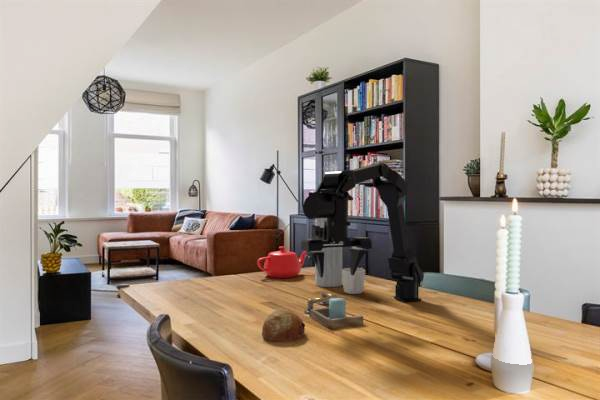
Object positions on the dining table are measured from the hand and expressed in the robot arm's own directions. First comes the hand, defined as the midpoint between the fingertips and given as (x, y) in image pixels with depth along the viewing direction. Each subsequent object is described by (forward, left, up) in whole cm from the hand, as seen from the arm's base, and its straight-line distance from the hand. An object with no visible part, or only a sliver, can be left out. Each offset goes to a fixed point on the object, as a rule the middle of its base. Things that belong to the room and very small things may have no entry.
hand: (337, 276), depth 121 cm
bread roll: (+18, +7, -12) cm, 23 cm away
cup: (-20, -27, -12) cm, 35 cm away
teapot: (-10, -68, -12) cm, 70 cm away
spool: (0, 0, -12) cm, 12 cm away
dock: (0, 0, -12) cm, 12 cm away
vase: (-19, -44, -12) cm, 49 cm away
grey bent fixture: (-1, -14, -12) cm, 18 cm away
